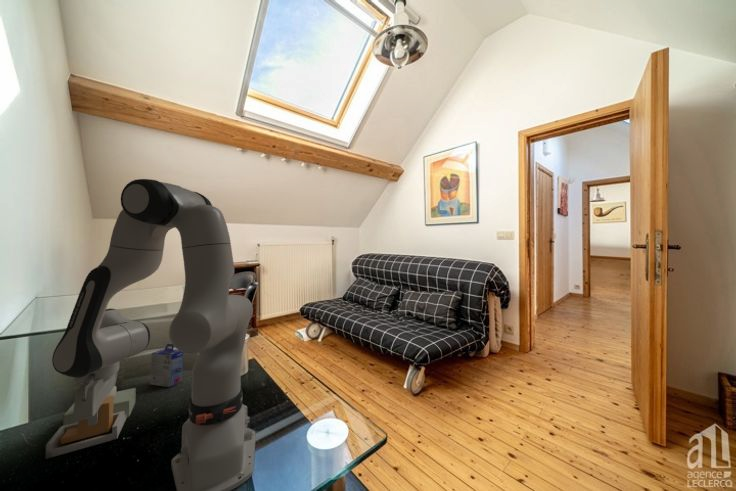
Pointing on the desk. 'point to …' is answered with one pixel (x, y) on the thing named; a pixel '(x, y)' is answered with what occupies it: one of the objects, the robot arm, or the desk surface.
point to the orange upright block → (93, 430)
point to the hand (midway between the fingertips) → (96, 418)
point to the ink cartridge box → (166, 367)
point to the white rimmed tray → (121, 411)
